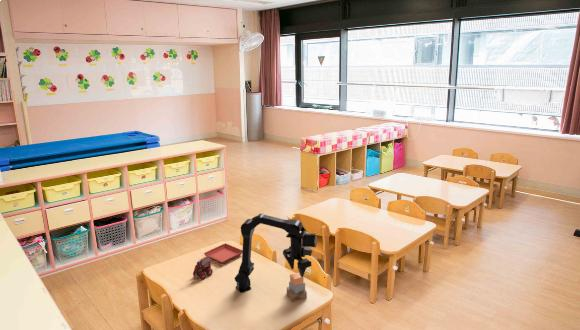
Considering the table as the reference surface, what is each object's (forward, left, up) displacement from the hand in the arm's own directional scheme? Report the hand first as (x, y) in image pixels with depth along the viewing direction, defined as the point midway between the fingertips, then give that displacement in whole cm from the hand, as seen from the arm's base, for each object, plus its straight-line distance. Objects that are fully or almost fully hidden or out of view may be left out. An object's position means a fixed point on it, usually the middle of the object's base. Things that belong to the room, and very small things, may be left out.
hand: (297, 272), depth 209 cm
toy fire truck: (-35, +47, -13) cm, 60 cm away
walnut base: (-1, 0, -13) cm, 13 cm away
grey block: (0, 0, -9) cm, 9 cm away
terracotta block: (-1, 0, -5) cm, 5 cm away
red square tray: (-16, +62, -14) cm, 66 cm away
